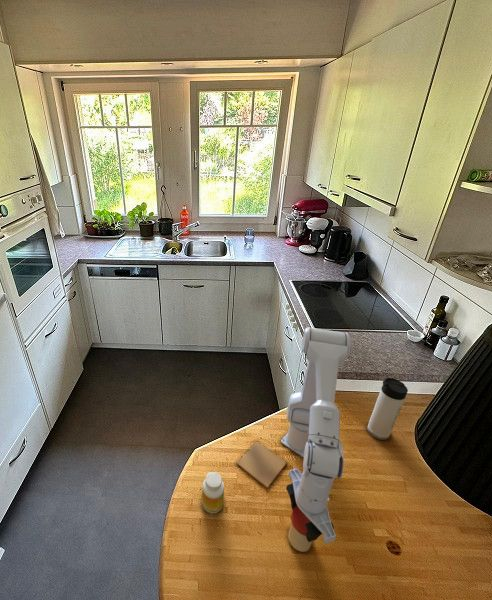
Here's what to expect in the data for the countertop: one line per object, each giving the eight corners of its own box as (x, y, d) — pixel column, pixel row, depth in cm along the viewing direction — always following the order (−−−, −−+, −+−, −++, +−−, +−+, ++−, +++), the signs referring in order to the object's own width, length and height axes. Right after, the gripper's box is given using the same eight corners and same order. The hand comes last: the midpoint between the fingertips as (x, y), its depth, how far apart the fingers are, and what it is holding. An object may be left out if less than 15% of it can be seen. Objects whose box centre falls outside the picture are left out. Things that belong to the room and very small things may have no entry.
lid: (290, 531, 70) (291, 527, 70) (290, 505, 75) (291, 501, 74) (318, 539, 69) (320, 535, 68) (317, 512, 74) (318, 508, 73)
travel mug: (363, 422, 105) (379, 375, 96) (384, 424, 104) (403, 377, 95) (369, 438, 100) (388, 390, 90) (392, 441, 99) (413, 392, 89)
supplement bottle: (221, 516, 80) (223, 492, 75) (200, 511, 81) (200, 487, 76) (224, 494, 84) (226, 471, 80) (203, 490, 85) (204, 467, 81)
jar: (294, 521, 79) (299, 503, 75) (315, 538, 75) (321, 519, 72) (284, 539, 75) (288, 520, 72) (304, 557, 72) (311, 538, 68)
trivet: (257, 442, 98) (257, 441, 98) (286, 463, 92) (286, 462, 92) (237, 464, 92) (237, 463, 92) (267, 488, 86) (267, 487, 86)
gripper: (355, 518, 61) (339, 555, 67) (311, 452, 73) (302, 488, 79) (322, 529, 59) (309, 565, 66) (283, 459, 72) (276, 496, 78)
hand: (303, 524), depth 72 cm, fingers closed on lid, 5 cm apart
